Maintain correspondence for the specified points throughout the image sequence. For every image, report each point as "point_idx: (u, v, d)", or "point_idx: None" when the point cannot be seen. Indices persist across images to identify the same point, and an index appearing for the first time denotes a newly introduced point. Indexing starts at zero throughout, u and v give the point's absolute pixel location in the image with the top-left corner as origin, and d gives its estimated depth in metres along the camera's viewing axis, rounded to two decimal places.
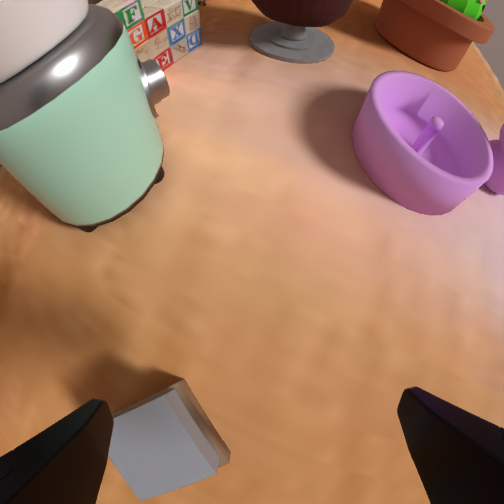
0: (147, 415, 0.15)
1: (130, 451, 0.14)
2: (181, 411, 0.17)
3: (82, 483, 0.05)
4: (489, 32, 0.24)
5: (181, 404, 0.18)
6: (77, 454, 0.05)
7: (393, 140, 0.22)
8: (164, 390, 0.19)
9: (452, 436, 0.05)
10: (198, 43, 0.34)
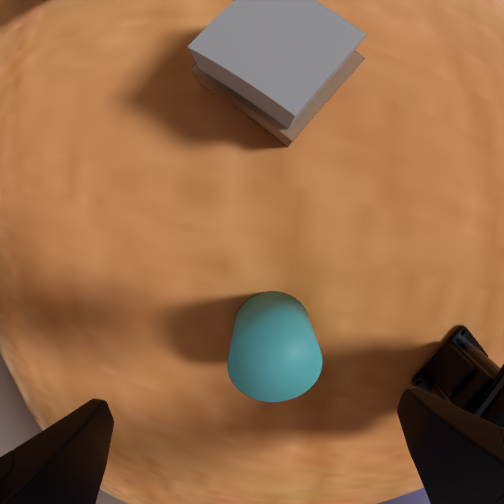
0: None
1: (253, 44, 0.11)
2: None
3: (83, 483, 0.05)
4: None
5: None
6: (77, 454, 0.05)
7: None
8: None
9: (452, 436, 0.05)
10: None
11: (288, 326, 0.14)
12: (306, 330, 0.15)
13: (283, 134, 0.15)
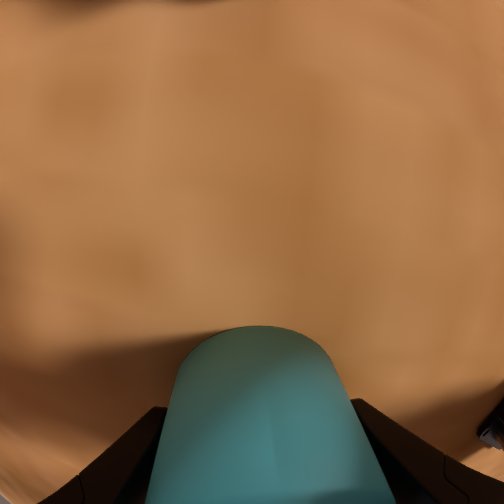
0: None
1: None
2: None
3: None
4: None
5: None
6: (149, 469, 0.05)
7: None
8: None
9: (388, 457, 0.05)
10: None
11: (315, 482, 0.03)
12: (364, 466, 0.04)
13: None
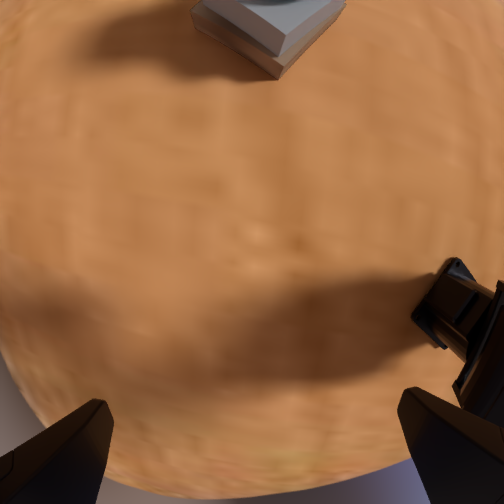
0: None
1: None
2: None
3: (82, 483, 0.05)
4: None
5: None
6: (77, 454, 0.05)
7: None
8: None
9: (451, 436, 0.05)
10: None
11: None
12: None
13: (275, 61, 0.14)
